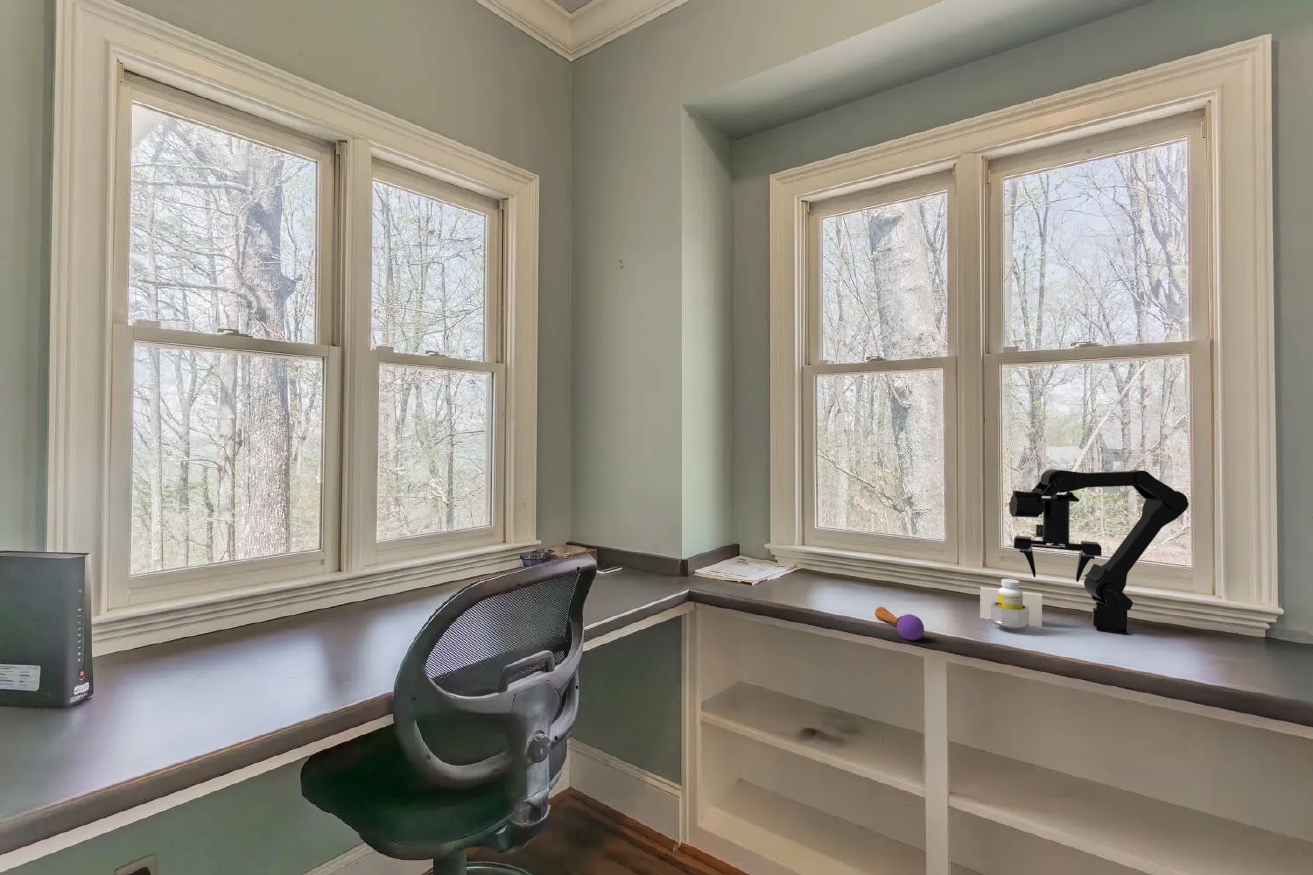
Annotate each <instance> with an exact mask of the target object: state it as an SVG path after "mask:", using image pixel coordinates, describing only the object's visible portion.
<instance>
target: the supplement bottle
mask: <svg viewBox="0 0 1313 875" xmlns="http://www.w3.org/2000/svg"><path fill="white" fill-rule="evenodd" d="M1000 580H1001V581H1000V583H1001V584H1000V585H1001V586H1002V587H1000V588H998V589H999V590H998V606H1000V607H1003V608H1010V609H1023V593H1022V592H1023V591H1022V590H1021V589H1019V588H1020V581H1019V580H1016V579H1013V578H1001V579H1000Z"/></svg>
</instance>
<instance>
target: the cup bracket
mask: <svg viewBox="0 0 1313 875" xmlns="http://www.w3.org/2000/svg"><path fill="white" fill-rule="evenodd" d="M990 622H991V623H992V624H994V625H996V626H1000V627H1004V628H1009V629H1010V628H1011V629H1026V628H1029V627H1030V625H1029V606H1026V605H1023V609H1010V608H1003V607H1000V606H998V601H996V602H992V603H991V620H990Z"/></svg>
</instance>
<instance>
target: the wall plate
mask: <svg viewBox="0 0 1313 875" xmlns="http://www.w3.org/2000/svg"><path fill="white" fill-rule="evenodd" d="M999 589H1000V588H996V587H995V588H994V587H985V586H980V591H979V593H980V594H979V597H980V598H979V603H980V604H979V605H980V606H979V618H980V619H982V618H985V619H984V620H989V619H991V603H992V602H996V601H998V590H999ZM1022 593H1023V605H1026V606H1029V626H1033V625H1034V626H1035V627H1040V626H1041V627H1042V626H1043V622H1042V621H1043V594H1042V593H1037V592H1030V591H1022Z"/></svg>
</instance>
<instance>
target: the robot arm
mask: <svg viewBox="0 0 1313 875" xmlns="http://www.w3.org/2000/svg"><path fill="white" fill-rule="evenodd" d="M1104 487H1106V488H1107V487H1108V488H1109V487H1111V488H1112V487H1133V488H1134V490H1135V491H1136V492H1137V494H1139V495H1140V496H1141V497H1142V498H1143V499H1144V500H1145V501H1144V503H1143V505H1142V511H1141V515H1140V516H1141V517H1140V519H1138V521H1137V522H1136V523H1135V524H1134V527H1133V528H1132V529H1131V530H1130V532H1129V533H1128V534H1127V535H1126V537H1125V538H1124V539H1123V541H1122V542H1121V544H1119V546H1118V547H1117V549H1116V550H1114V551H1115V552H1114V553H1113V554H1112V556H1111V557H1110V558H1109V560H1108V561H1107V562H1106V563H1103V564H1102V565H1099V564H1097V563H1093V564H1092V565H1091V568H1090V569H1089V571H1088V572H1087V573H1085V574H1084V575H1083V572H1084V570H1085V568H1086V566H1087V564H1088V563H1089V561H1091V560H1095V559H1096V557H1102V546H1101V545H1100V544H1099V543H1098V541H1087V540H1080V543H1074V542H1073V543H1072V542H1070V516H1071V514H1070V511H1071V510H1070V509H1071V508H1070V504H1071V502H1072V503H1073V502H1075V503H1077V502H1080V499H1079V497H1077V496H1076V495H1075V494H1074V493H1073V492H1074V491H1078V490H1081V489H1087V488H1104ZM1059 493H1061V494H1059ZM1063 493H1064V494H1063ZM1189 504H1190V502H1189V500H1188V498H1187V496H1186V495H1185V494H1184V493H1183V492H1181V491H1179V490H1174V489H1173V488H1171V487H1170V486H1169V485H1168V484H1165V483H1164V482H1162V481H1161V480H1159V479H1158V478H1156V477H1155V476H1153V475H1152V474H1150V473H1149V472H1148V471H1146V470H1141V469H1132V470H1122V471H1120V470H1119V471H1117V470H1116V471H1093V472H1092V471H1091V472H1079V471H1072V470H1061V469H1056V468H1055V469H1053V468H1051V469H1046V470H1045V471H1044V472H1043V473H1042V474H1041V476H1040V481H1039V482H1038V483H1037V484H1036V485H1035V486H1034V488H1033V489H1031V491H1021V490H1012V495H1011V497H1010V500H1009V503H1008V508H1009V513H1010V515H1011V517H1013V518H1035V519H1037V518H1039V516H1040V515H1042V524H1039V523H1038V524H1037V523H1036V524H1035V537H1036V538H1041V540H1037V539H1032V536H1021V535H1016V536H1014V538H1013V549H1015V550H1019V553H1021V554H1022V553H1023V554H1024V556H1025V558H1026V560H1027V562H1028V564H1029V568H1030V571H1031V573H1032V575H1033V578H1036V574H1037V573H1036V572H1037V571H1036V566H1035V558H1034V552H1033V551H1034V550H1033V548H1036V549H1037V548H1038V549H1039V548H1040V549H1050V550H1051V549H1052V550H1062V551H1063V550H1065V551H1074V552H1076V551H1077V552H1078V561H1077V567H1076V573H1075V581H1076V582H1077V583H1078V582H1080V578H1081V577H1082V575H1083V577H1085V579H1084V580H1083V585H1084V589H1085V590H1086V592H1087V593H1088V594H1090V596H1091V598H1092V601H1095V602H1094V603H1095V606H1094V607H1093V608H1092V626H1094V628H1095V629H1096V631H1100V632H1106V633H1114V634H1122V635H1129V634H1130V633H1129V630H1128V611H1131V609H1132V607H1133V604H1134V602H1133V600H1131V599H1130V598H1129V597H1128V595H1126V594H1125V593H1124V589H1125V588H1126V585H1127V579H1128V574H1129V572H1130V571H1131V569H1132V568H1133V566H1135V564H1136V562H1138V560H1139V559H1140V557H1141V556H1142V555H1143V554H1144V552H1145V551H1146V550H1147V548H1148V547H1149V546H1150V544H1151V543H1152V542H1153V540H1154V539H1155V538H1156V537H1157V535H1158V534H1159V533H1160V531H1161V530H1162V528H1163V527H1165V526H1166V525H1168V524H1170V523H1172V522H1174V521H1175V520H1176V519H1178V518H1179V517H1180V516H1181V515H1182V514H1183V513H1185V512H1186V511H1187V510H1188V508H1189Z"/></svg>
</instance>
